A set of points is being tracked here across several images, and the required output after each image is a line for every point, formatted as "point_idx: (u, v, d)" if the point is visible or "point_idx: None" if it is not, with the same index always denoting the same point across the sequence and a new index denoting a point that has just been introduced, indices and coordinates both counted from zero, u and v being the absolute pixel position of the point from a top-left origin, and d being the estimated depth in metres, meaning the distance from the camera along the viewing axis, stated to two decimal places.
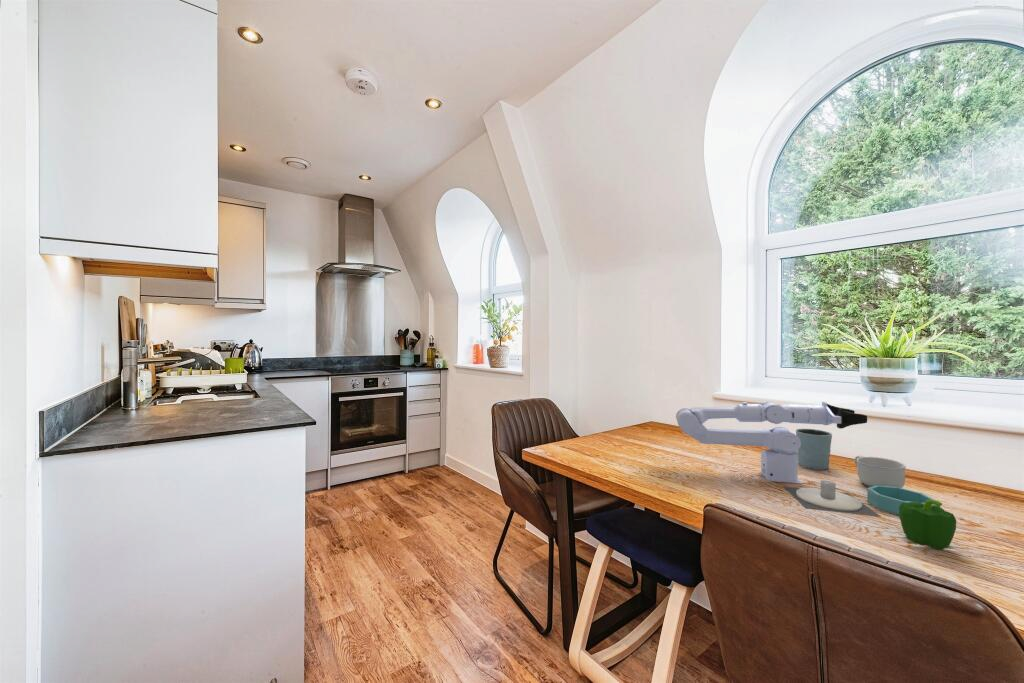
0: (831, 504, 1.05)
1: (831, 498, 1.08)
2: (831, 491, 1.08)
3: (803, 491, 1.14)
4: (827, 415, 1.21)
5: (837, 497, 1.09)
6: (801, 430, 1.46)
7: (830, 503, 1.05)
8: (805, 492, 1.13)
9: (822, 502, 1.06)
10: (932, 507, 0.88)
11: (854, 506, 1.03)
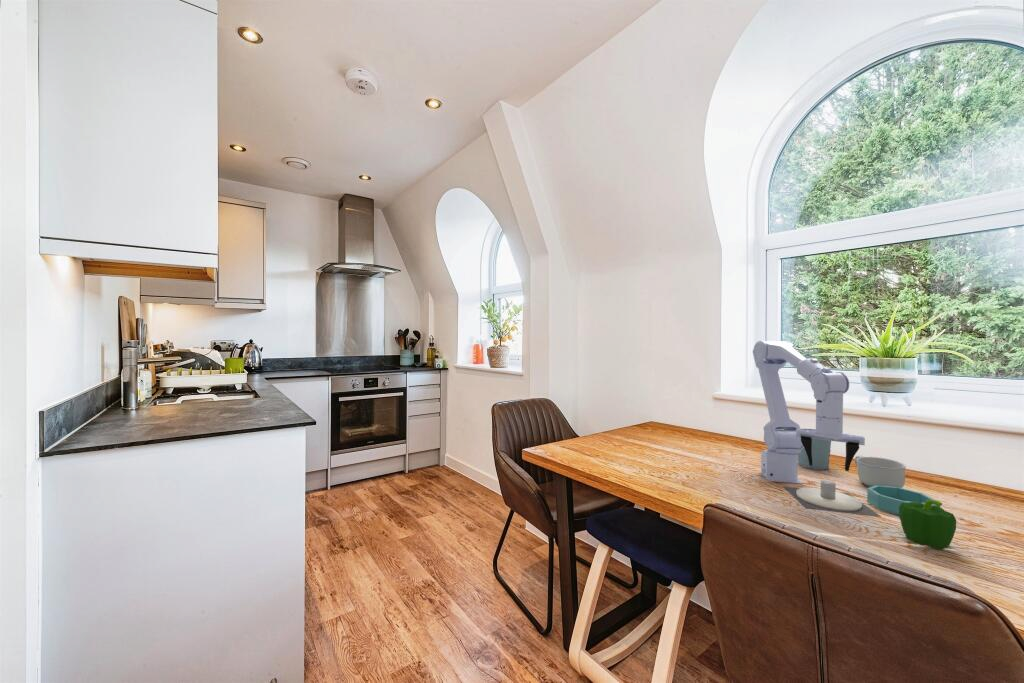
0: (831, 504, 1.05)
1: (831, 498, 1.08)
2: (831, 491, 1.08)
3: (803, 491, 1.14)
4: (815, 432, 1.11)
5: (837, 497, 1.09)
6: None
7: (830, 503, 1.05)
8: (805, 492, 1.13)
9: (822, 502, 1.06)
10: (932, 507, 0.88)
11: (854, 506, 1.03)
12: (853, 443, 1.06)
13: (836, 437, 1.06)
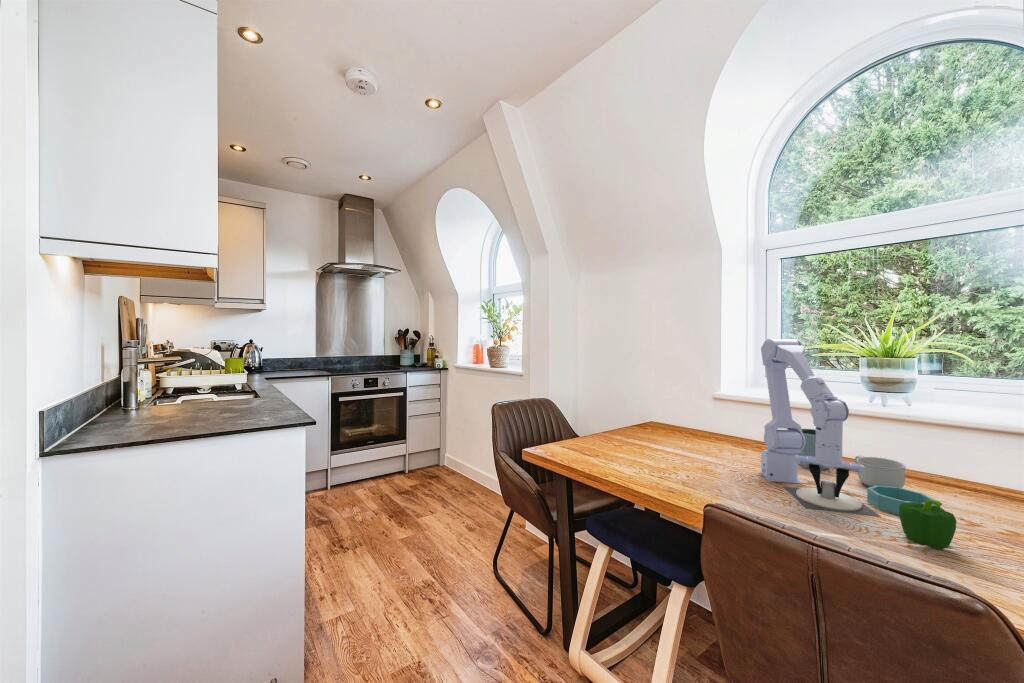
0: (831, 504, 1.05)
1: (831, 498, 1.08)
2: (831, 490, 1.08)
3: (803, 491, 1.14)
4: (814, 459, 1.11)
5: (837, 497, 1.09)
6: None
7: (830, 503, 1.05)
8: (805, 492, 1.13)
9: (822, 502, 1.06)
10: (932, 507, 0.88)
11: (854, 506, 1.03)
12: (852, 471, 1.06)
13: (835, 465, 1.06)
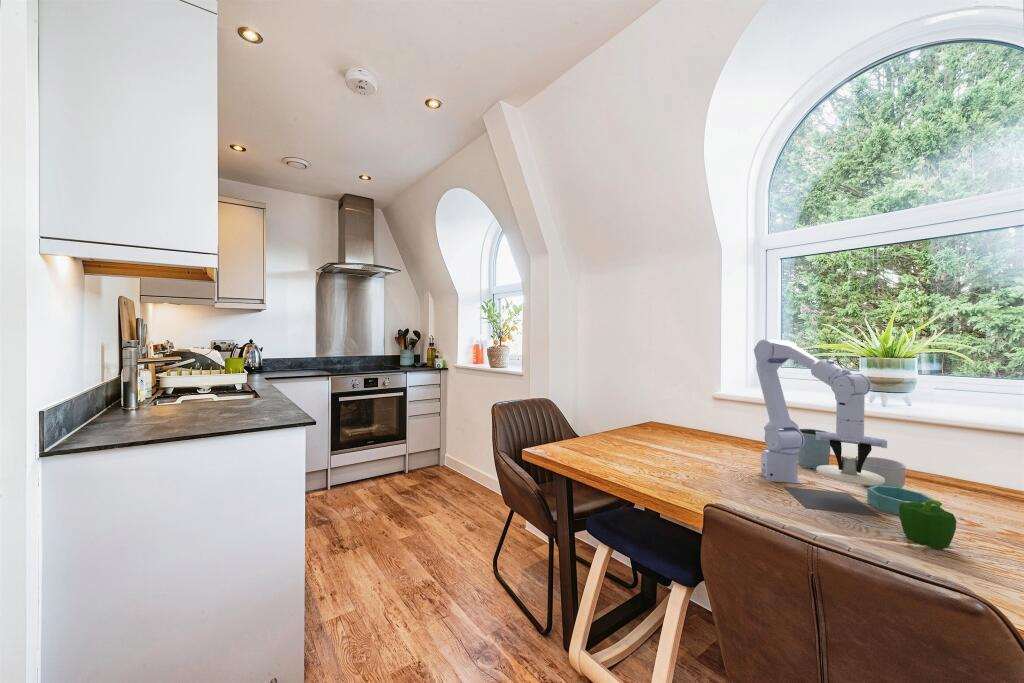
0: (853, 479, 1.03)
1: (853, 474, 1.06)
2: (853, 466, 1.06)
3: (823, 468, 1.12)
4: (835, 434, 1.09)
5: (859, 473, 1.08)
6: (801, 430, 1.46)
7: (852, 478, 1.04)
8: (826, 469, 1.11)
9: (844, 477, 1.04)
10: (932, 507, 0.88)
11: (877, 481, 1.02)
12: None
13: (857, 440, 1.05)
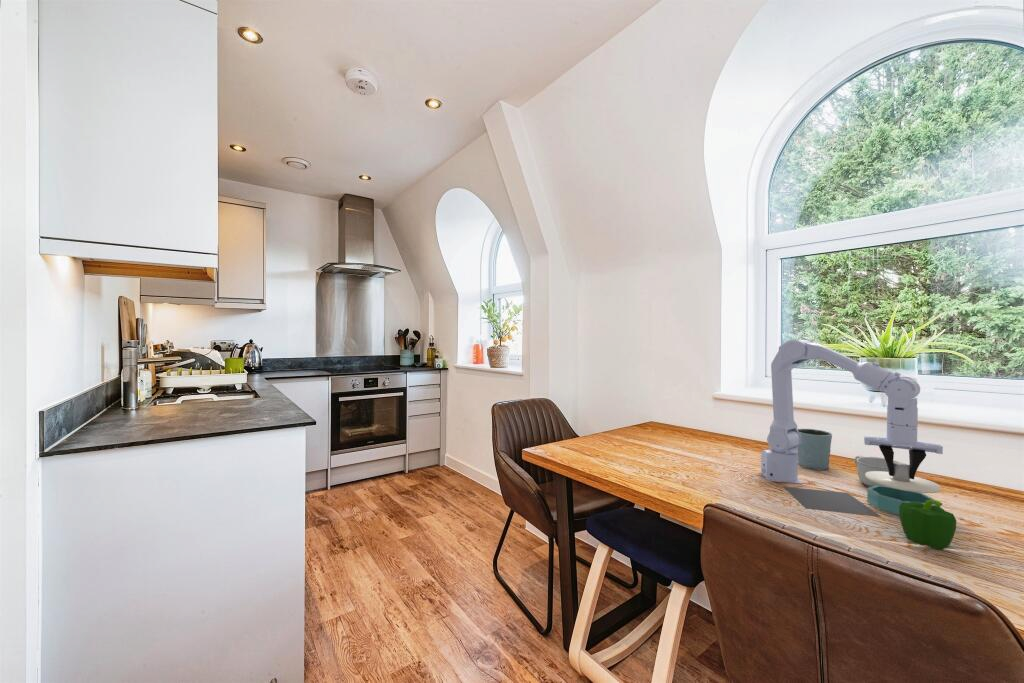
0: (908, 486, 1.00)
1: (906, 480, 1.03)
2: (906, 473, 1.03)
3: (873, 474, 1.09)
4: (886, 439, 1.06)
5: (911, 480, 1.05)
6: (801, 430, 1.46)
7: (906, 485, 1.01)
8: (875, 475, 1.08)
9: (897, 484, 1.01)
10: (932, 507, 0.88)
11: (933, 488, 0.99)
12: None
13: (911, 445, 1.02)
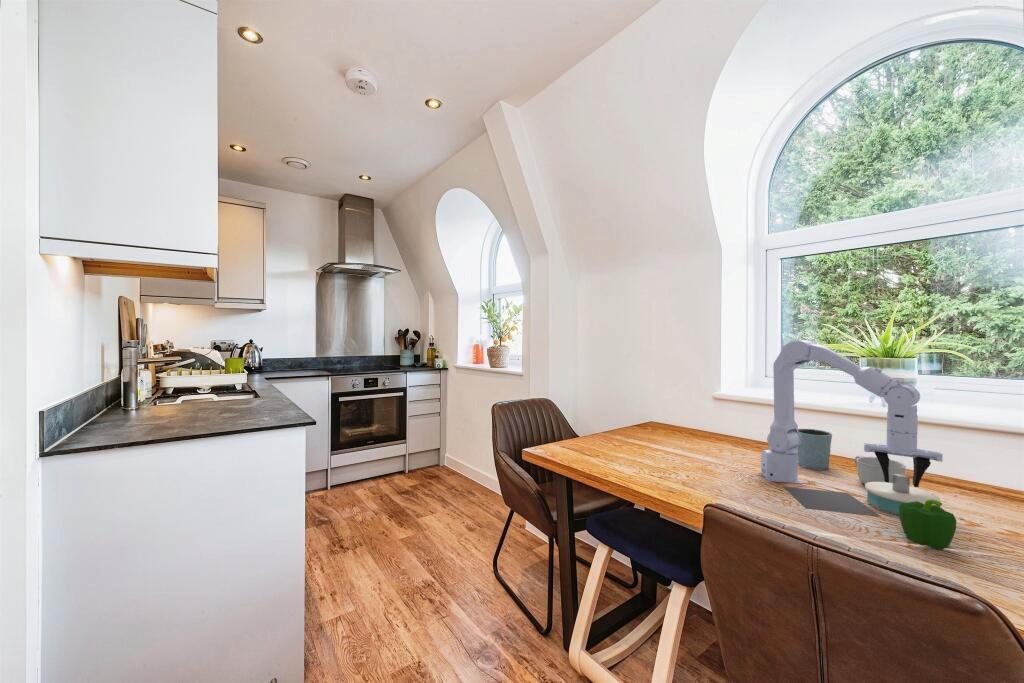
0: (907, 498, 1.00)
1: (905, 492, 1.03)
2: (906, 484, 1.03)
3: (872, 485, 1.09)
4: (886, 446, 1.06)
5: (911, 491, 1.05)
6: (801, 430, 1.46)
7: (906, 497, 1.01)
8: (875, 486, 1.08)
9: (897, 496, 1.01)
10: (932, 507, 0.88)
11: None
12: (929, 459, 1.01)
13: (911, 453, 1.02)
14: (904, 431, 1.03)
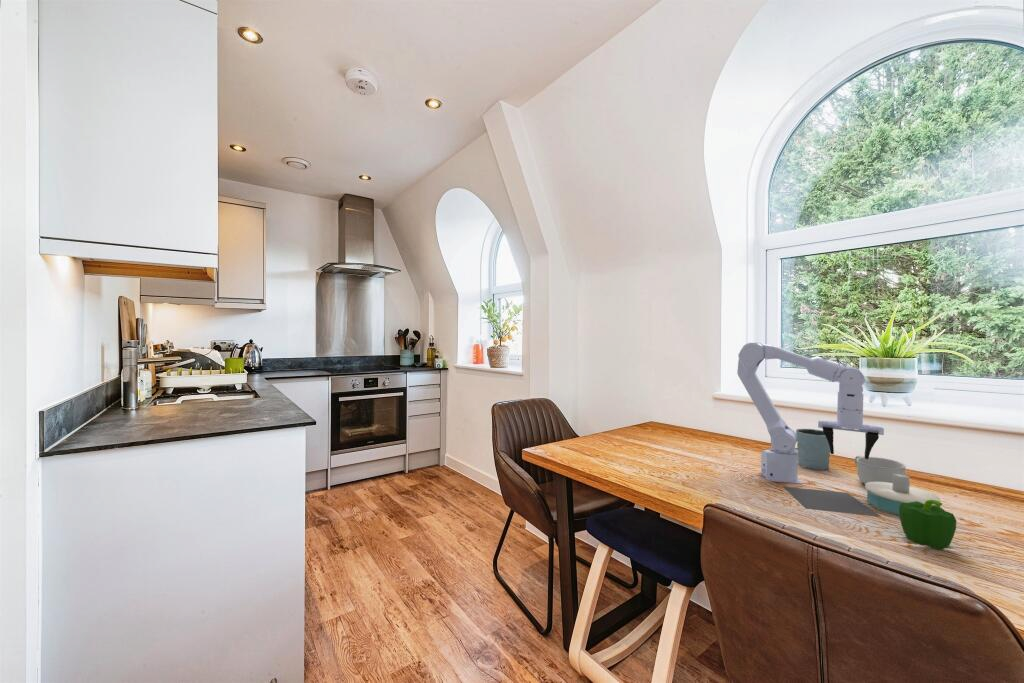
0: (907, 498, 1.00)
1: (905, 492, 1.03)
2: (906, 484, 1.03)
3: (872, 485, 1.09)
4: (836, 423, 1.19)
5: (911, 491, 1.05)
6: (801, 430, 1.46)
7: (906, 497, 1.01)
8: (875, 486, 1.08)
9: (897, 496, 1.01)
10: (932, 507, 0.88)
11: None
12: (873, 433, 1.14)
13: (857, 427, 1.14)
14: (855, 408, 1.15)
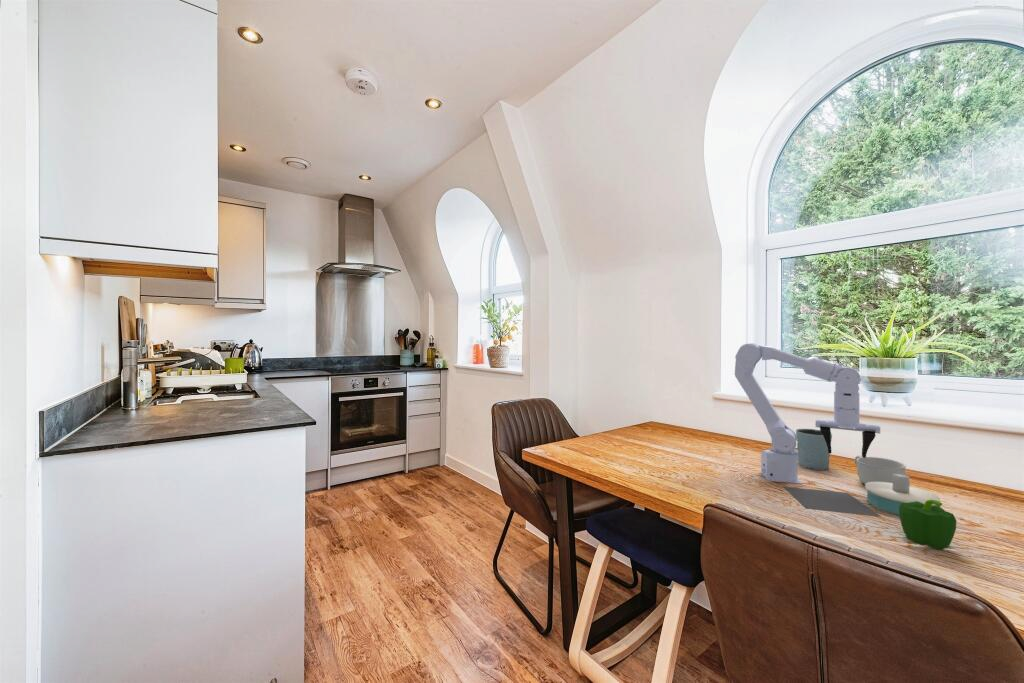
0: (907, 498, 1.00)
1: (905, 492, 1.03)
2: (906, 484, 1.03)
3: (872, 485, 1.09)
4: (833, 422, 1.20)
5: (911, 491, 1.05)
6: (801, 430, 1.46)
7: (906, 497, 1.01)
8: (875, 486, 1.08)
9: (897, 496, 1.01)
10: (932, 507, 0.88)
11: None
12: (869, 432, 1.15)
13: (854, 426, 1.15)
14: (851, 407, 1.16)
